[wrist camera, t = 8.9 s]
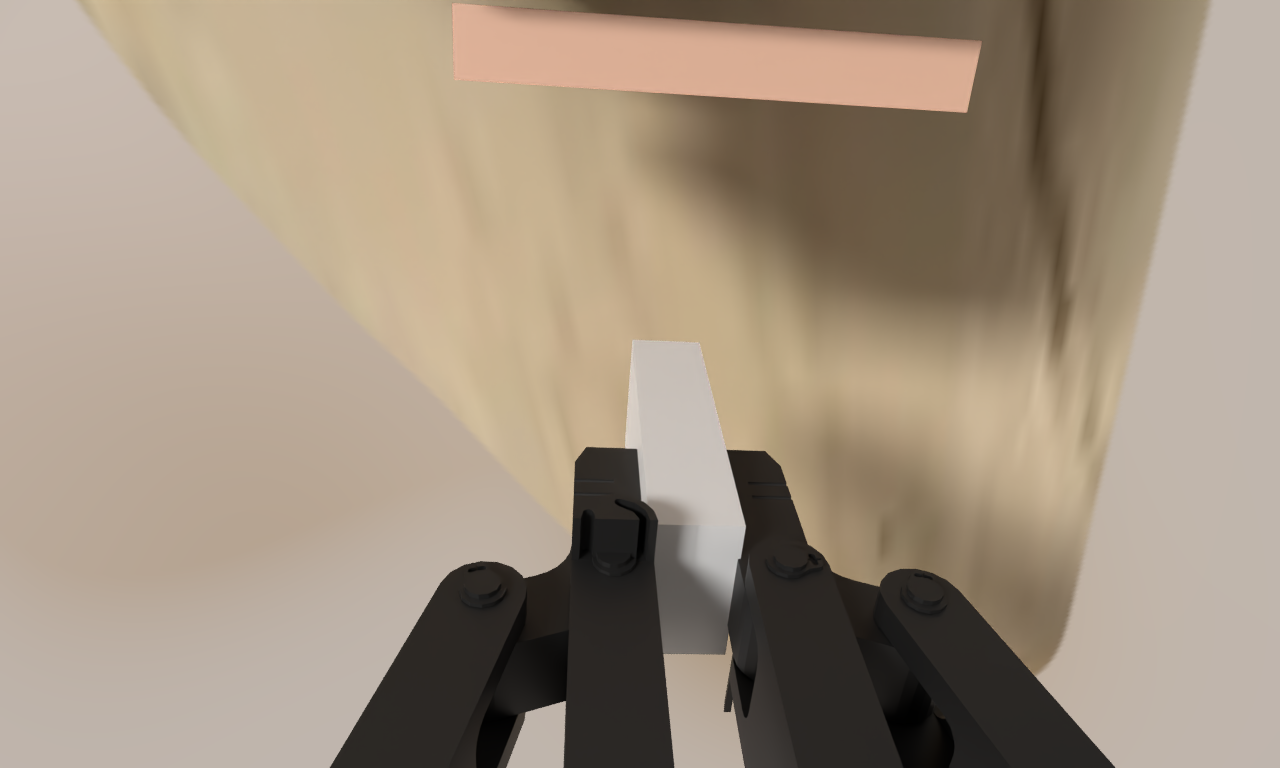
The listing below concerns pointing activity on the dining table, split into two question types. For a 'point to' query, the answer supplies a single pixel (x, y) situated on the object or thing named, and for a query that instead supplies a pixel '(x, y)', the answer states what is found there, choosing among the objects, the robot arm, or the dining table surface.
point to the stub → (711, 58)
